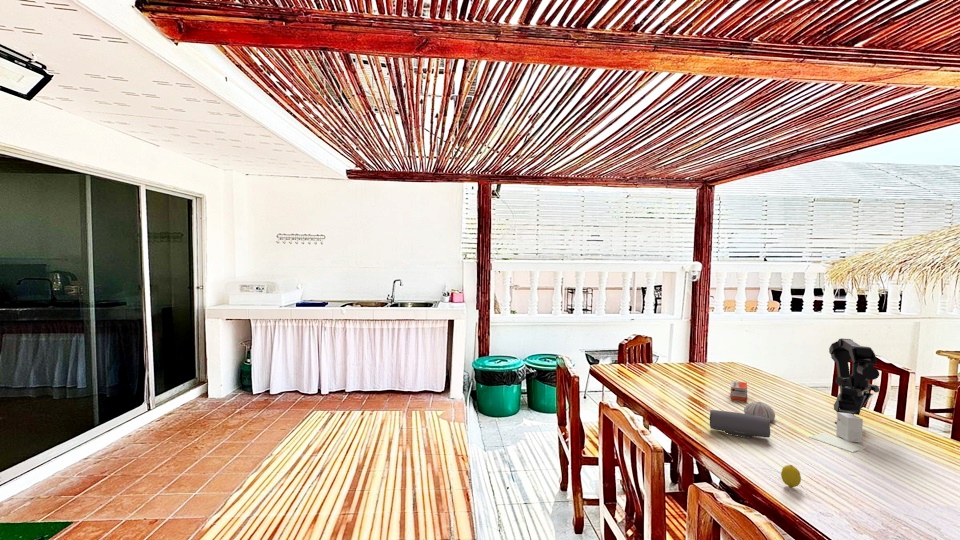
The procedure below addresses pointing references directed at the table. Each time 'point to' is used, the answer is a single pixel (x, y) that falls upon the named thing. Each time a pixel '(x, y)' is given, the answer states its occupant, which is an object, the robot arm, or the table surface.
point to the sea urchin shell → (760, 410)
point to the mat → (838, 442)
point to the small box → (849, 427)
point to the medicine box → (739, 391)
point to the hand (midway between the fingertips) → (859, 408)
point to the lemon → (791, 476)
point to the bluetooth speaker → (740, 424)
